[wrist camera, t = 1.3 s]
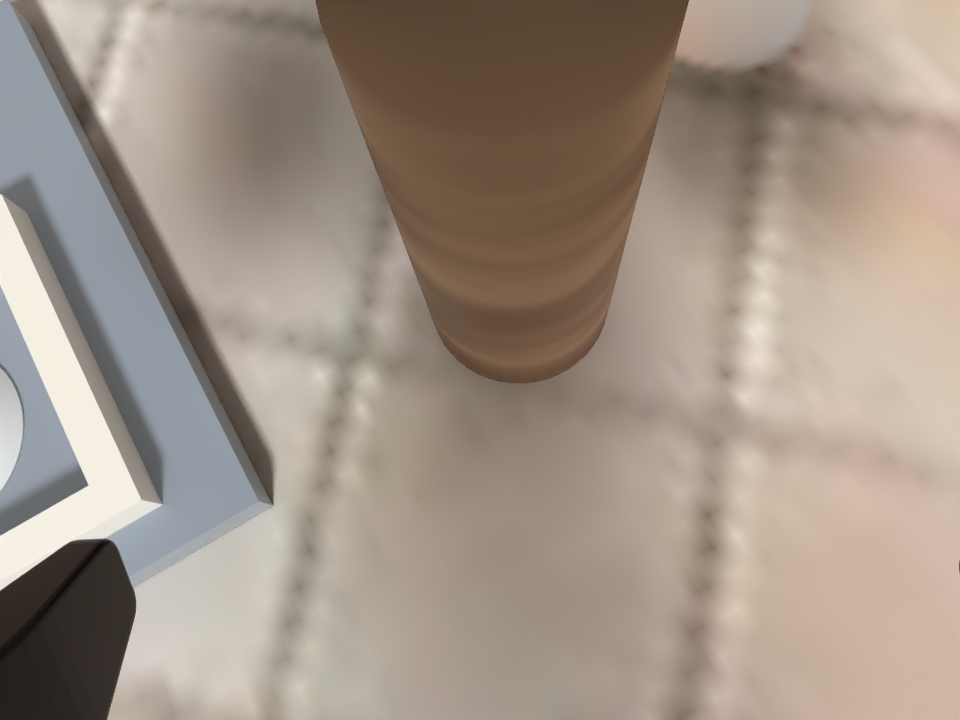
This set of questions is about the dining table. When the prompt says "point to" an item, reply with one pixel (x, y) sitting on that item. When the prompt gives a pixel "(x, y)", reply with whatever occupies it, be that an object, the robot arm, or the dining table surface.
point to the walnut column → (509, 157)
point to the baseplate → (94, 357)
